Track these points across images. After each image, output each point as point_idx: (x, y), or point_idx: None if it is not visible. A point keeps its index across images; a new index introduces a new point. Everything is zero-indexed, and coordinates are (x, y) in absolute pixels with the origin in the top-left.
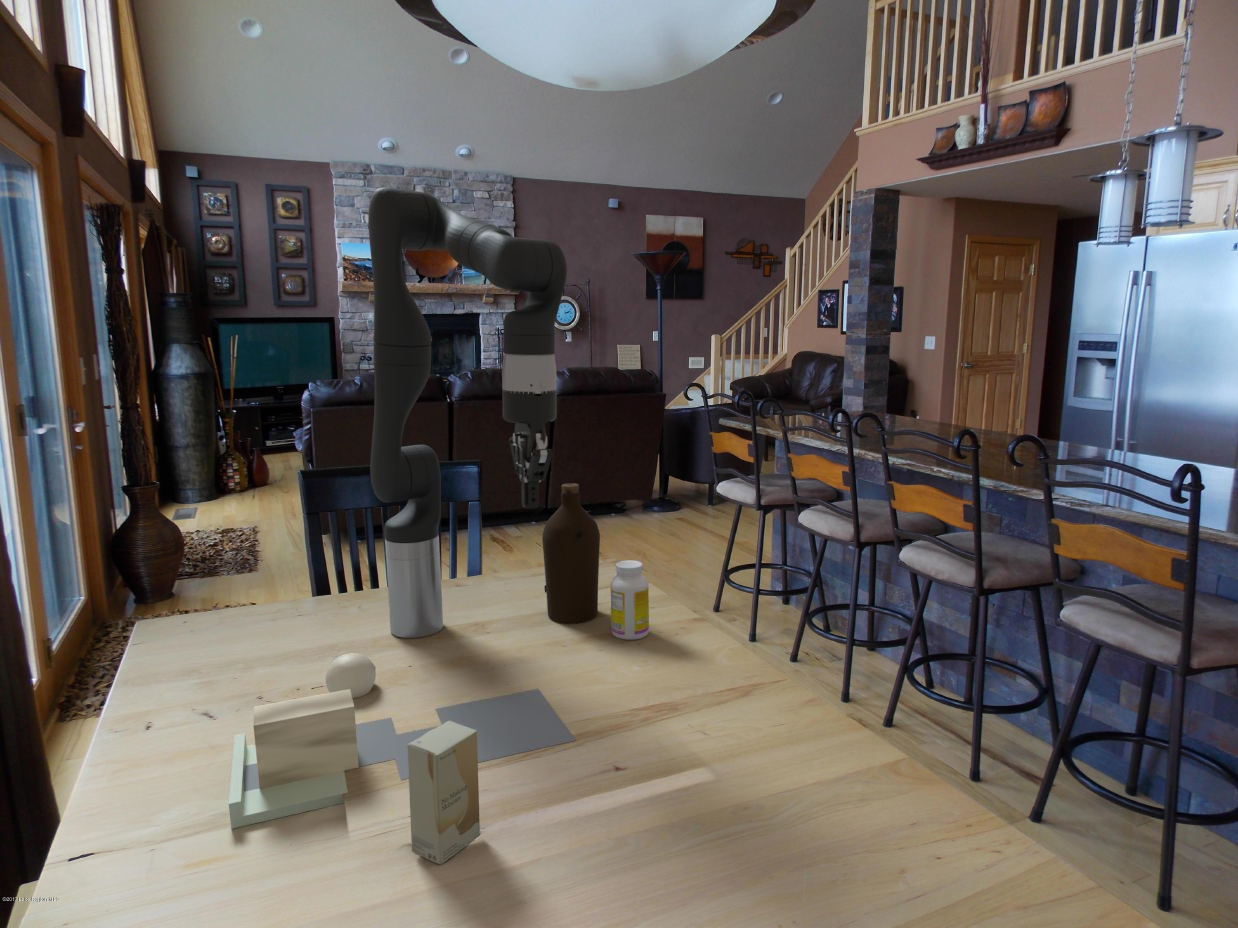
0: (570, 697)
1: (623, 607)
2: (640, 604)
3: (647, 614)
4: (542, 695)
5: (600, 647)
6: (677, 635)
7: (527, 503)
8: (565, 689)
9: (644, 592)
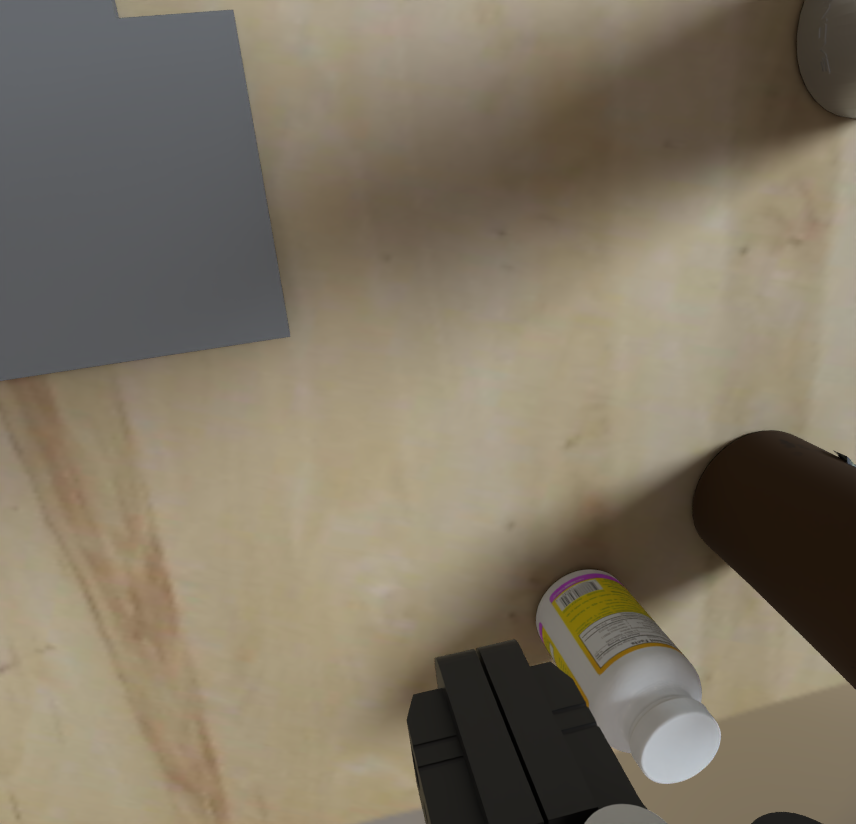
0: (260, 411)
1: (582, 643)
2: None
3: None
4: (243, 341)
5: (527, 527)
6: None
7: (436, 699)
8: (310, 406)
9: None
